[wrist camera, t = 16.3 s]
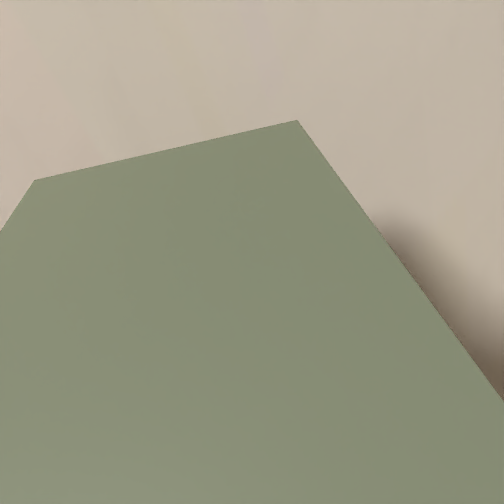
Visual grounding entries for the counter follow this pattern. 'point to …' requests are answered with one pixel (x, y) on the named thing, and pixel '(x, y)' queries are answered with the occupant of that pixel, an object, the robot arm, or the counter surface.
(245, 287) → the cream cube green side
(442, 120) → the counter surface
